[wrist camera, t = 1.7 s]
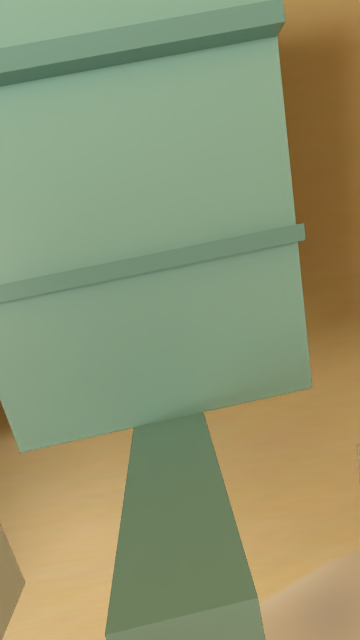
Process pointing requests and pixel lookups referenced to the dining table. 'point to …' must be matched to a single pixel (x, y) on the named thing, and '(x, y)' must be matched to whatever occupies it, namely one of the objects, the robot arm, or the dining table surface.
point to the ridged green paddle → (150, 272)
